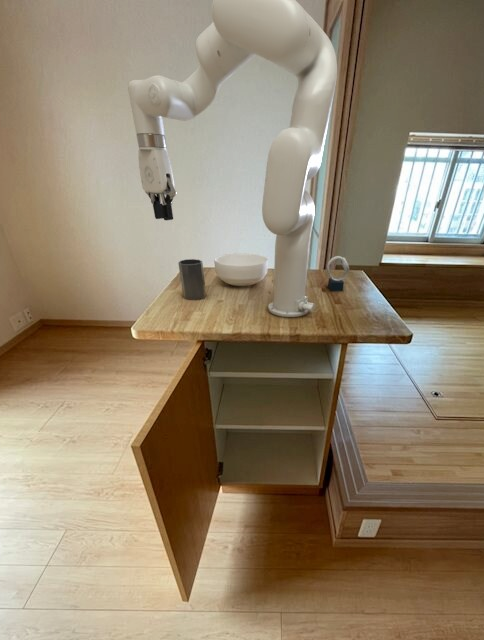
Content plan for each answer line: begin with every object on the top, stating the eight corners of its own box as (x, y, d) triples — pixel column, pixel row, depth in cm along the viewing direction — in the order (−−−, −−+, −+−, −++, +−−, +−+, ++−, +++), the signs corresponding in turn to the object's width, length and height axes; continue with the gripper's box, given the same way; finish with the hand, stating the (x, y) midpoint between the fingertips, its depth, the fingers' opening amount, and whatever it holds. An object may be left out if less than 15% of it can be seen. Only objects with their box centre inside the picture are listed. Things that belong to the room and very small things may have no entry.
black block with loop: (347, 291, 113) (353, 258, 106) (326, 291, 113) (330, 258, 106) (344, 286, 118) (349, 254, 111) (323, 286, 117) (326, 254, 111)
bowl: (244, 294, 108) (243, 269, 103) (205, 283, 118) (202, 259, 113) (277, 281, 121) (278, 258, 116) (239, 272, 130) (238, 250, 125)
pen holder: (210, 295, 107) (206, 261, 100) (193, 301, 102) (188, 266, 95) (195, 291, 110) (191, 258, 104) (179, 296, 105) (173, 262, 99)
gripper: (123, 143, 88) (138, 217, 99) (159, 142, 80) (171, 223, 91) (145, 145, 93) (158, 215, 104) (182, 143, 85) (191, 220, 96)
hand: (164, 218), depth 98 cm, fingers open, 3 cm apart
